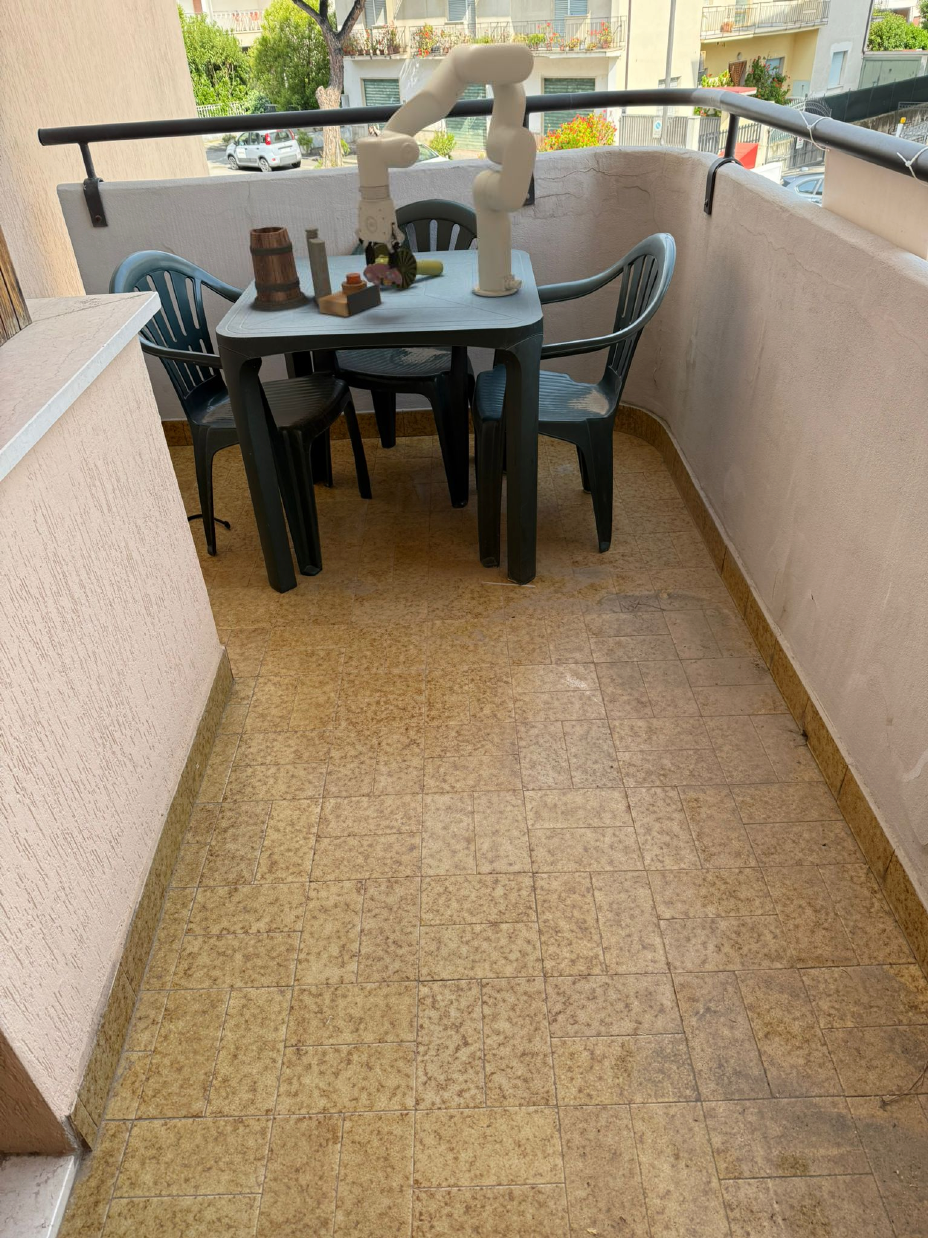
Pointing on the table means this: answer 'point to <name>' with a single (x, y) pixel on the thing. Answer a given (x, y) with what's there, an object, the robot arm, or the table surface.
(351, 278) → the power button
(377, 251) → the cannon
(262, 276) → the tankard
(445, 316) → the table surface
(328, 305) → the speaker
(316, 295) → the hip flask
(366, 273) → the pink lumpy mass
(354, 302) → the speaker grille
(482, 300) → the table surface
